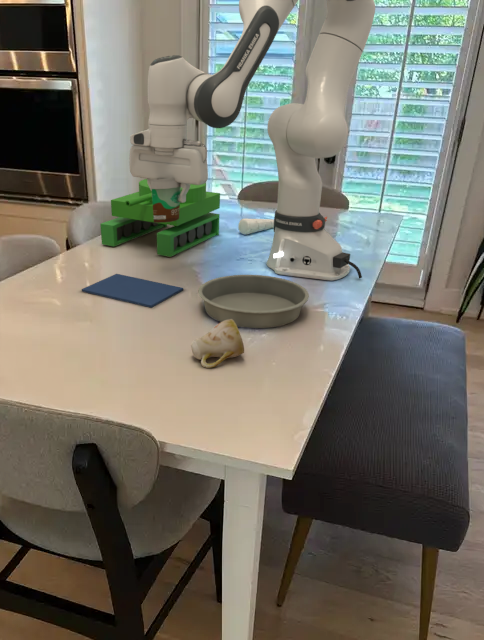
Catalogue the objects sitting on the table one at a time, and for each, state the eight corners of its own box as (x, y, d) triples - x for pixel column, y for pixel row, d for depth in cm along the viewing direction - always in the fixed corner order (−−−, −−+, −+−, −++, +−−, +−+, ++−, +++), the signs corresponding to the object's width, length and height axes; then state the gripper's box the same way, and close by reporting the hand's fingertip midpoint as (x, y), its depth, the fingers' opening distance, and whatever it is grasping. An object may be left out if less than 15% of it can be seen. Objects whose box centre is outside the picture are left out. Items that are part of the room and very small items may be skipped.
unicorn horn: (298, 225, 203) (299, 210, 201) (247, 236, 190) (247, 220, 188) (288, 222, 206) (289, 208, 204) (237, 233, 193) (237, 217, 191)
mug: (182, 353, 117) (204, 306, 115) (226, 372, 120) (248, 326, 118) (189, 361, 110) (212, 310, 108) (236, 381, 113) (259, 332, 111)
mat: (183, 290, 147) (183, 287, 146) (151, 307, 136) (151, 305, 136) (116, 275, 155) (116, 273, 154) (81, 291, 144) (81, 289, 144)
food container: (176, 225, 143) (175, 180, 138) (151, 223, 144) (150, 179, 139) (189, 213, 154) (188, 171, 148) (166, 212, 155) (164, 170, 149)
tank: (89, 249, 174) (84, 190, 165) (154, 224, 200) (153, 171, 191) (161, 263, 164) (159, 201, 156) (219, 234, 191) (221, 180, 182)
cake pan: (310, 296, 145) (312, 278, 142) (302, 337, 124) (305, 316, 122) (210, 287, 149) (210, 269, 146) (186, 325, 128) (186, 305, 126)
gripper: (213, 140, 137) (212, 203, 145) (139, 133, 146) (141, 193, 153) (199, 143, 133) (199, 208, 140) (124, 135, 141) (127, 197, 148)
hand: (168, 200), depth 147 cm, fingers closed on food container, 6 cm apart
